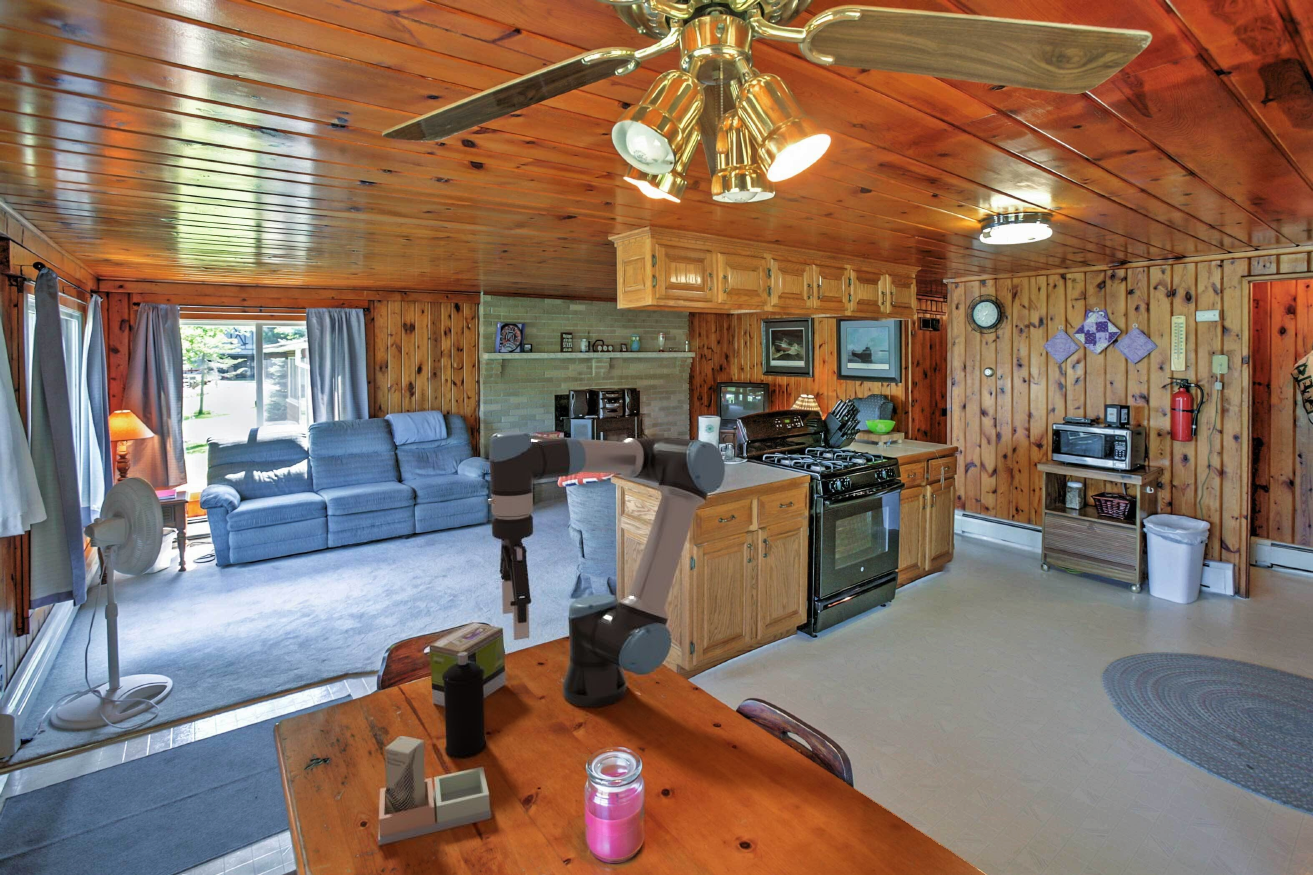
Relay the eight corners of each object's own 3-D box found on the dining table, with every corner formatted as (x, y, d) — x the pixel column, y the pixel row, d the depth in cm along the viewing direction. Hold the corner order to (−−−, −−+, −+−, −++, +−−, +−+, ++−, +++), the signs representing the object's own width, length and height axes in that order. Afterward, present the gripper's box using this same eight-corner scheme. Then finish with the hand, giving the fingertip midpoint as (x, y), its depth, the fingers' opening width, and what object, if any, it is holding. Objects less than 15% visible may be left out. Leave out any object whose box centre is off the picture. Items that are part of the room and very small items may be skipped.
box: (385, 819, 113) (381, 747, 112) (402, 803, 118) (399, 734, 116) (411, 825, 112) (408, 753, 111) (428, 809, 116) (425, 739, 115)
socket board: (484, 784, 124) (483, 764, 124) (491, 818, 115) (490, 796, 115) (380, 807, 118) (378, 786, 118) (378, 845, 109) (377, 822, 108)
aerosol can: (475, 761, 132) (471, 664, 130) (437, 756, 134) (433, 660, 131) (493, 738, 140) (490, 646, 138) (457, 734, 142) (453, 643, 139)
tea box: (474, 676, 168) (472, 620, 167) (506, 685, 164) (505, 626, 162) (430, 704, 155) (428, 642, 153) (464, 713, 150) (462, 650, 149)
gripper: (483, 504, 135) (487, 605, 137) (501, 532, 112) (505, 653, 114) (521, 501, 137) (523, 601, 140) (546, 527, 114) (548, 647, 117)
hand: (515, 625), depth 127 cm, fingers open, 13 cm apart
